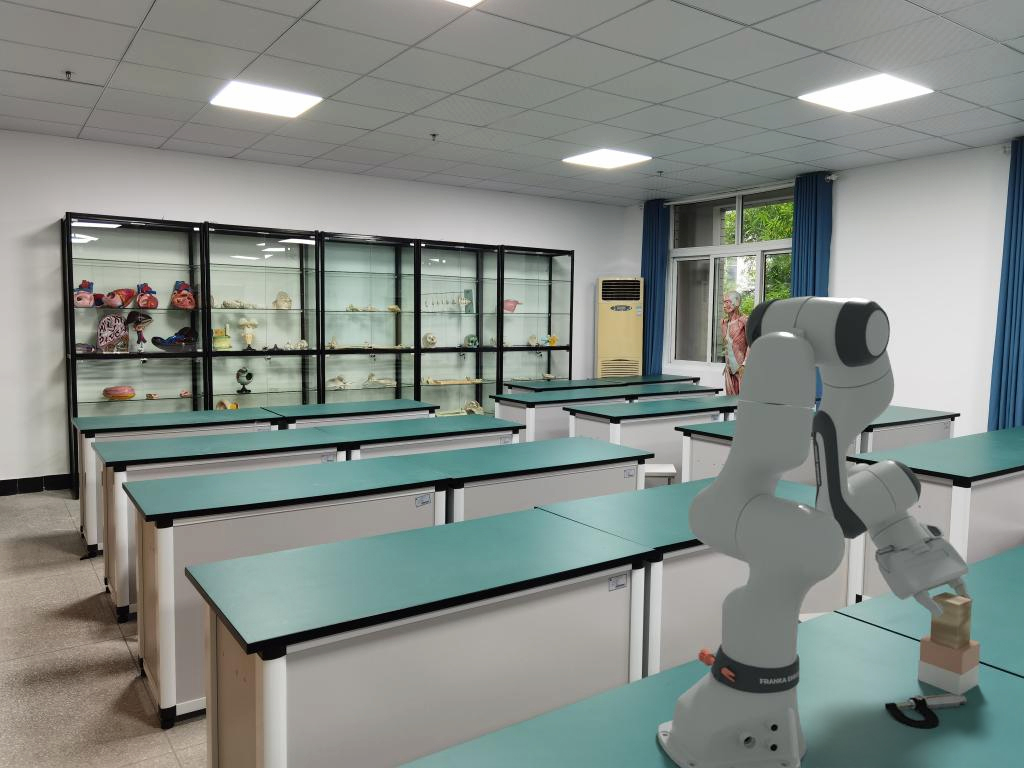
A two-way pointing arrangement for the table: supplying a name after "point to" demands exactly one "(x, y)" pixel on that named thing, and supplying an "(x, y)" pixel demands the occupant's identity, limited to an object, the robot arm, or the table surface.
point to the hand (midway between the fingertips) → (955, 609)
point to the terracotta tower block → (950, 655)
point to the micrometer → (924, 709)
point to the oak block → (952, 621)
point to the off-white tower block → (947, 678)
